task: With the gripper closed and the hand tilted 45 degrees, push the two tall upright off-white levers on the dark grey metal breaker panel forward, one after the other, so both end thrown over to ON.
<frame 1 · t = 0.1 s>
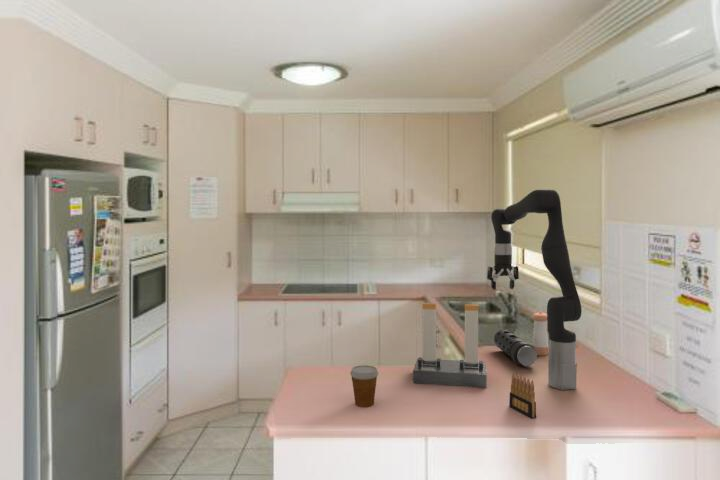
hand: (502, 289, 232), 29 cm above the worktop, tool pointing down, fingers open, 8 cm apart
muzzle brake: (514, 360, 224), on the worktop
pepper shaker: (540, 353, 233), on the worktop
lever far: (429, 334, 200), point 17 cm above the worktop, hinge at 0.0°
breaker panel: (450, 378, 199), on the worktop
ammunition clip: (522, 412, 166), on the worktop
disposable coffee cup: (364, 404, 174), on the worktop
lever near: (471, 335, 196), point 17 cm above the worktop, hinge at 0.0°
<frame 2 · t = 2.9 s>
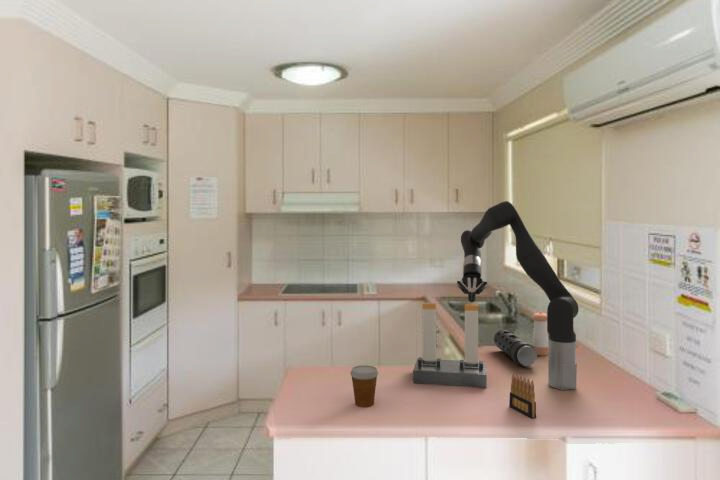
hand: (471, 301, 210), 28 cm above the worktop, tool tilted 45°, fingers closed
nothing on the worktop moved.
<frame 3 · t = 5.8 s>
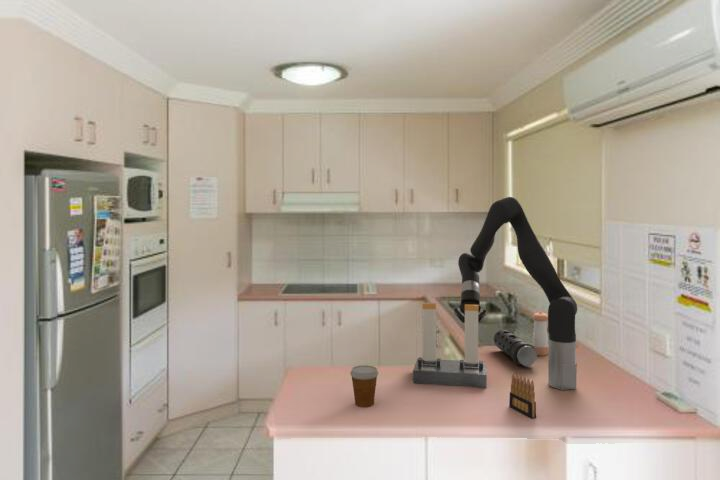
hand: (469, 331, 198), 19 cm above the worktop, tool tilted 45°, fingers closed
lever near: (471, 336, 196), point 17 cm above the worktop, hinge at 1.2°, touching gripper
everything else where it was.
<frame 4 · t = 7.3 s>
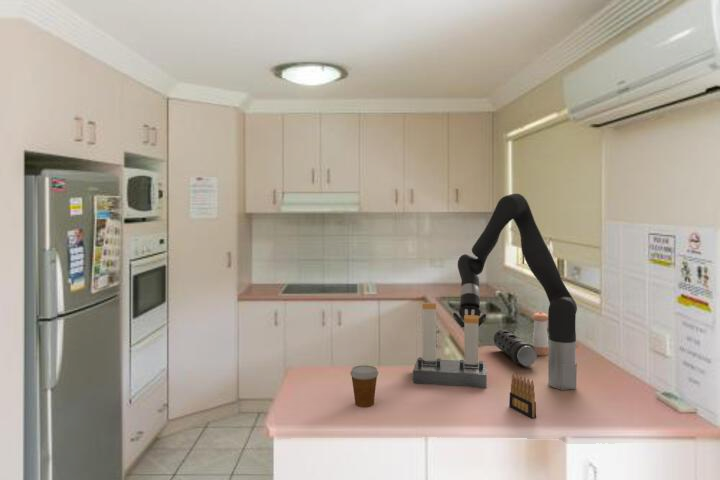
hand: (469, 336, 192), 18 cm above the worktop, tool tilted 45°, fingers closed
lever near: (471, 342, 191), point 16 cm above the worktop, hinge at 26.9°, touching gripper
everything else where it was.
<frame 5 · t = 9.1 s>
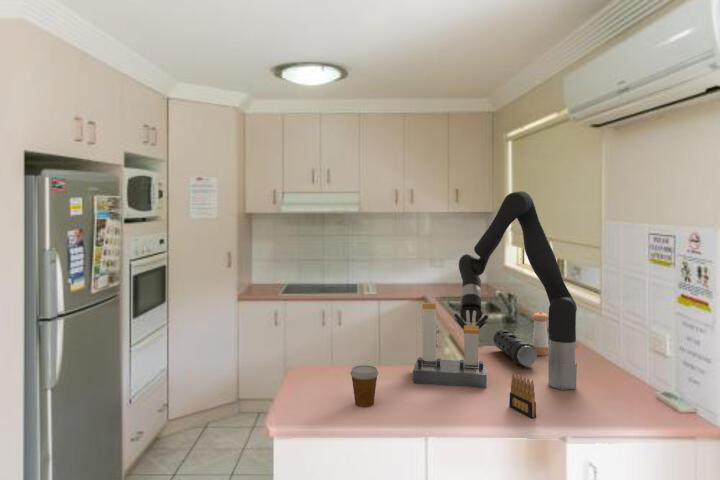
hand: (470, 338, 187), 19 cm above the worktop, tool tilted 45°, fingers closed
lever near: (471, 347, 189), point 15 cm above the worktop, hinge at 40.0°, touching gripper
everything else where it was.
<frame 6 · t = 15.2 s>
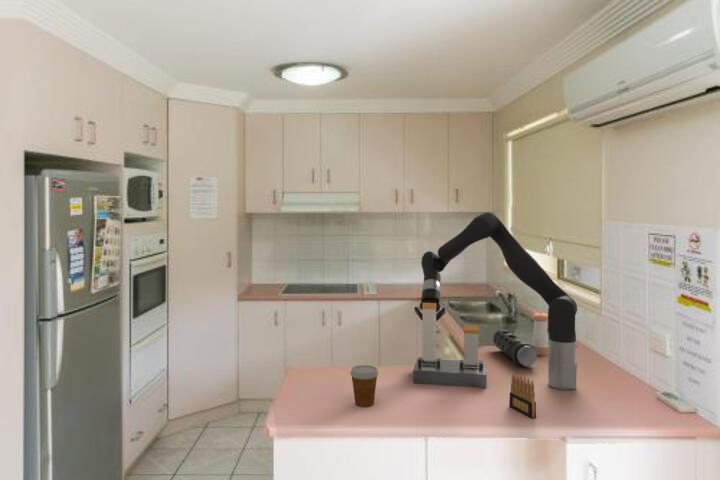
hand: (428, 329, 201), 19 cm above the worktop, tool tilted 45°, fingers closed
lever far: (429, 334, 200), point 17 cm above the worktop, hinge at 0.1°, touching gripper
lever near: (471, 347, 189), point 15 cm above the worktop, hinge at 40.0°
everything else where it was.
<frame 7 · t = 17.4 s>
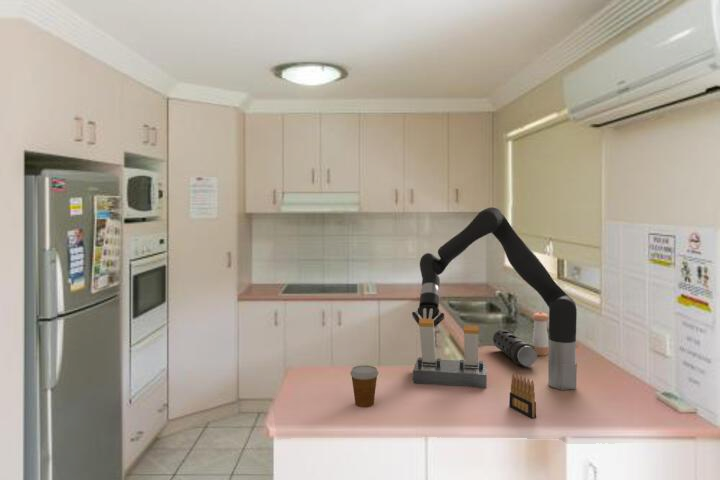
hand: (426, 335, 193), 18 cm above the worktop, tool tilted 45°, fingers closed
lever far: (427, 343, 194), point 15 cm above the worktop, hinge at 34.1°
everything else where it was.
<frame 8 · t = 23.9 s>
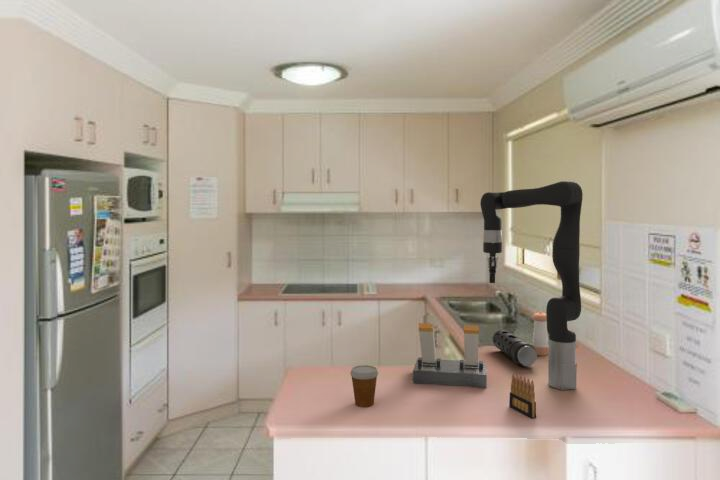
hand: (492, 282, 213), 35 cm above the worktop, tool pointing down, fingers closed
lever far: (427, 345, 193), point 15 cm above the worktop, hinge at 39.8°
everything else where it was.
at the end: lever near at +40° (first picture: +0°); lever far at +40° (first picture: +0°) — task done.
